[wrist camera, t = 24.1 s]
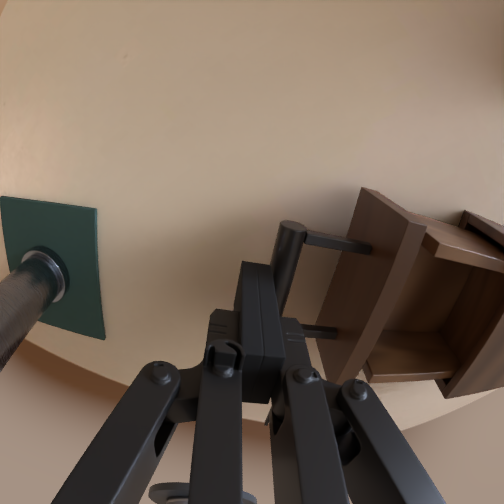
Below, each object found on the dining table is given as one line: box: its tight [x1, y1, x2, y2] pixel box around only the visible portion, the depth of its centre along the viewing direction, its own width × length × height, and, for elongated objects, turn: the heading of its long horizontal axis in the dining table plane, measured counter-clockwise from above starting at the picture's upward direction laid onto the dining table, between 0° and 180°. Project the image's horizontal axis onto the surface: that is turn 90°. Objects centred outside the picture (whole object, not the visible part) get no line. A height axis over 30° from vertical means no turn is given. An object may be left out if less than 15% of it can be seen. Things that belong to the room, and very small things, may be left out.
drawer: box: [270, 187, 504, 385], centre depth 18 cm, size 18×11×6 cm, turn 79°
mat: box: [0, 196, 106, 340], centre depth 21 cm, size 12×10×1 cm
